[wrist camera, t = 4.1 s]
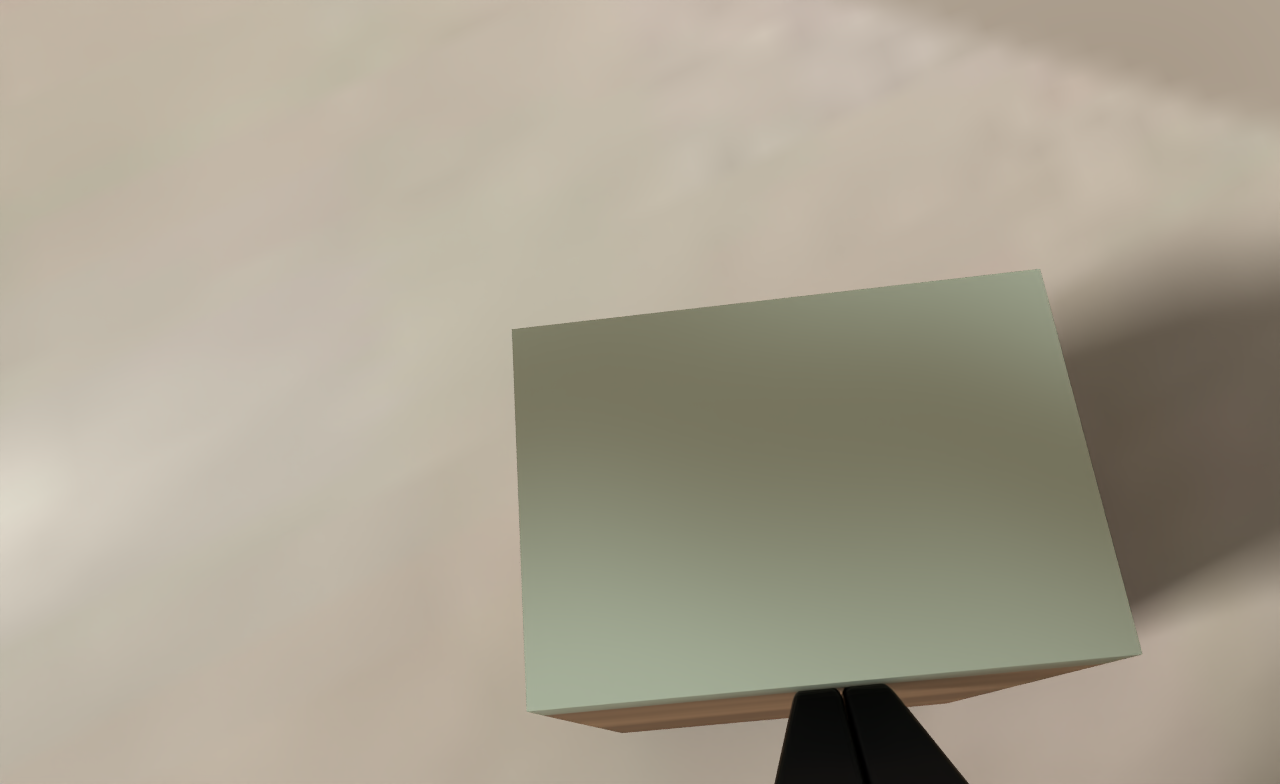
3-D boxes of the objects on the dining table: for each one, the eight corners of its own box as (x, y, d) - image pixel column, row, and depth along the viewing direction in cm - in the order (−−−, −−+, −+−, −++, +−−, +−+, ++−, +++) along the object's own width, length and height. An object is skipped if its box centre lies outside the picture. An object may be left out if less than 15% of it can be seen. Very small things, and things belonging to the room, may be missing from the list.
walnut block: (946, 703, 15) (1141, 654, 8) (622, 733, 15) (527, 711, 8) (904, 482, 16) (1040, 268, 9) (606, 513, 16) (511, 329, 9)
